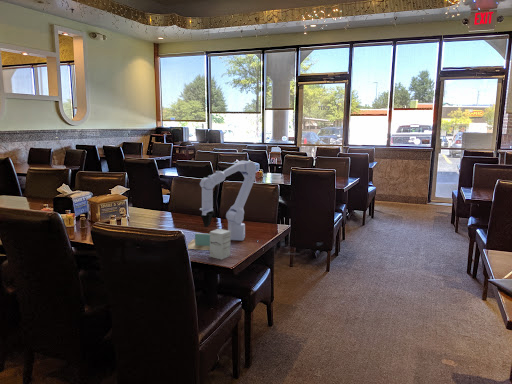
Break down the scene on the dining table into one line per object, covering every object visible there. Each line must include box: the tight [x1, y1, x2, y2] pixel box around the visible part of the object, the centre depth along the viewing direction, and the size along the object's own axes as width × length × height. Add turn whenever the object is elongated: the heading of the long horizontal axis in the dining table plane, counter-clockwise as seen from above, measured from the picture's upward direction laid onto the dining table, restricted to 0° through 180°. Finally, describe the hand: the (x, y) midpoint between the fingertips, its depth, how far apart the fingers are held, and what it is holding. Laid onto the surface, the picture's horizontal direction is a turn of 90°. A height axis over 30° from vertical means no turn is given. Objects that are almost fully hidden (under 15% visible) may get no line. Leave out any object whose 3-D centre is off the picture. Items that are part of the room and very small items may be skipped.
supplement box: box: [209, 228, 231, 260], centre depth 178 cm, size 7×7×13 cm
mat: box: [187, 238, 210, 252], centre depth 196 cm, size 16×16×1 cm
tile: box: [194, 232, 210, 246], centre depth 194 cm, size 10×2×6 cm, turn 84°
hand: (207, 225), depth 199 cm, fingers open, 4 cm apart
